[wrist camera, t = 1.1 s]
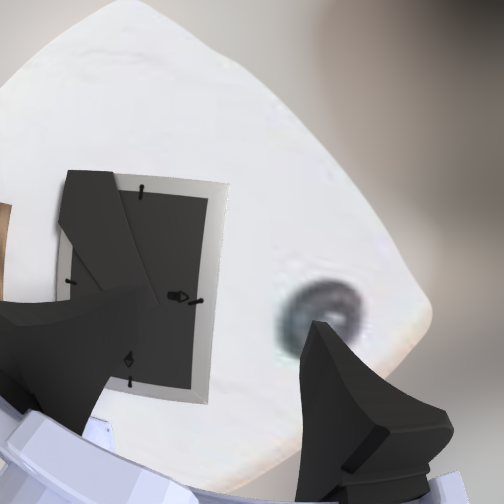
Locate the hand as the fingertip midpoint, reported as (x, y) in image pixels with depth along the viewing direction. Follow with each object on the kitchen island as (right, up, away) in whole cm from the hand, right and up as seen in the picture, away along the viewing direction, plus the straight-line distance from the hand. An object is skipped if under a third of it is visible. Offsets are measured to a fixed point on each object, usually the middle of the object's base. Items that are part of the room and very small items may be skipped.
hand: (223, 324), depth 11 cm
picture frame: (-10, 0, +13) cm, 17 cm away
